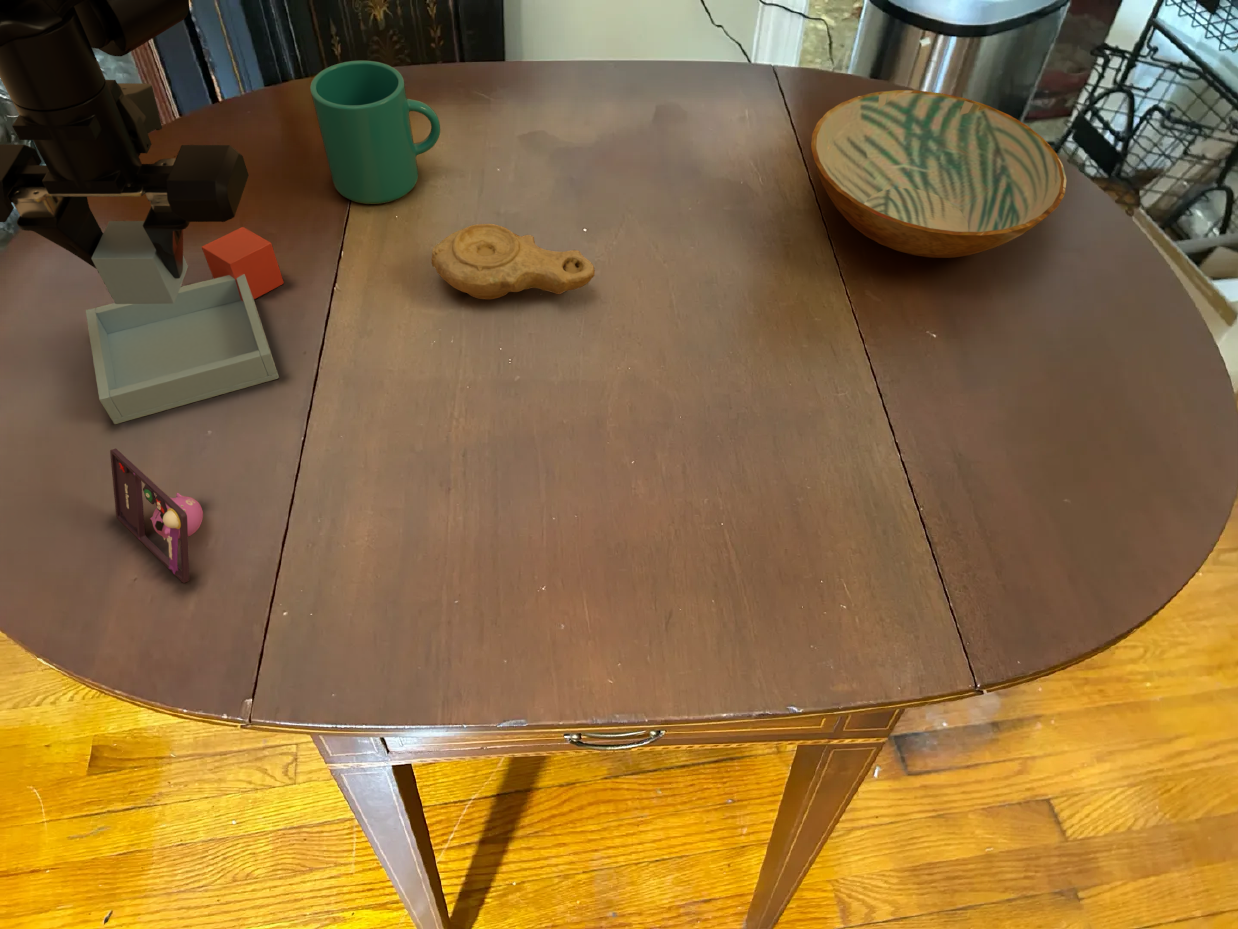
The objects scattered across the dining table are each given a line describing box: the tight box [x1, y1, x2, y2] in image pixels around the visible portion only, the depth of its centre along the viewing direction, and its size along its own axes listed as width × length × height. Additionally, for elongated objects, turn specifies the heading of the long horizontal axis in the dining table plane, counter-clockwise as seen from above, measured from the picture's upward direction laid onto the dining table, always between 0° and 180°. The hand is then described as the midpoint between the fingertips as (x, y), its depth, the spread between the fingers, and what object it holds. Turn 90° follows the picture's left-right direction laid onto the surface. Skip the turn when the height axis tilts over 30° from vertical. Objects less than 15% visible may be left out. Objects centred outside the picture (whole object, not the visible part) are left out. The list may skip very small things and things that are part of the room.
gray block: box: [91, 220, 189, 304], centre depth 70 cm, size 4×4×4 cm
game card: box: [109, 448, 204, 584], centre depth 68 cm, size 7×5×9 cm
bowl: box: [810, 89, 1068, 259], centre depth 94 cm, size 25×25×8 cm
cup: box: [309, 60, 441, 205], centre depth 94 cm, size 9×12×11 cm
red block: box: [201, 226, 285, 301], centre depth 86 cm, size 4×4×4 cm
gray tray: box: [85, 274, 280, 425], centre depth 80 cm, size 14×12×3 cm
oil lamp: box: [430, 223, 596, 300], centre depth 87 cm, size 11×14×5 cm
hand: (148, 274), depth 71 cm, fingers closed on gray block, 4 cm apart
